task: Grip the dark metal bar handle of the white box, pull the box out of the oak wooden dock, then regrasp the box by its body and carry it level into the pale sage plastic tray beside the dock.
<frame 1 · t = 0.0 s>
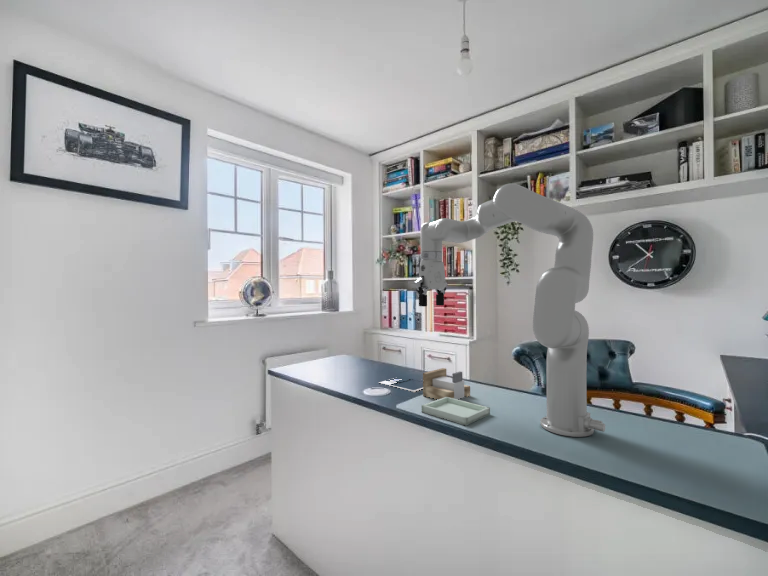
hand: (431, 305, 129), 31 cm above the table, fingers open, 9 cm apart
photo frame: (407, 385, 142), on the table
white box: (448, 397, 125), on the table
dock: (448, 396, 125), on the table
tray: (455, 413, 108), on the table
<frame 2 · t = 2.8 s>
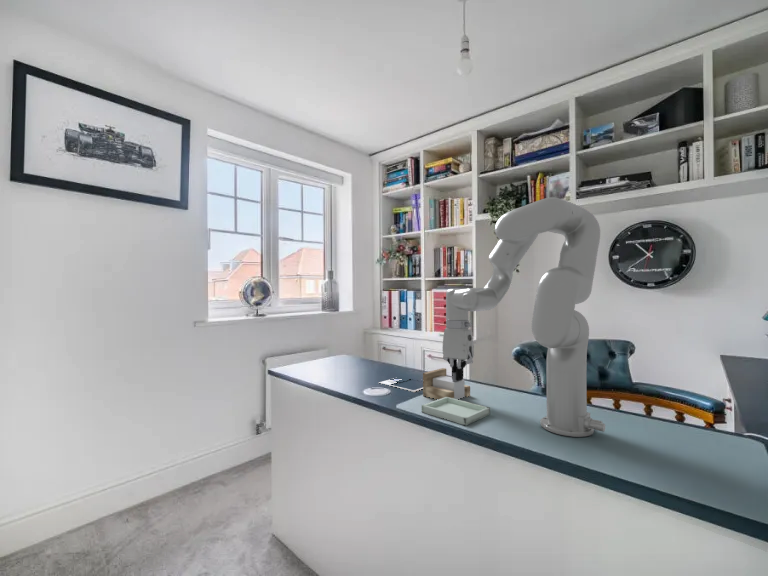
hand: (457, 379, 123), 7 cm above the table, fingers closed on white box
white box: (448, 396, 125), on the table, touching gripper
everything else where it was.
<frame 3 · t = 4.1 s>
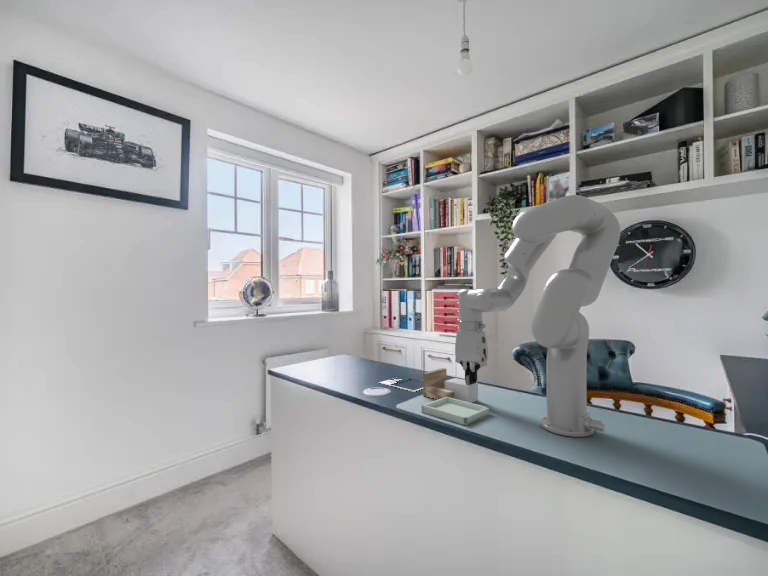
hand: (470, 382, 119), 6 cm above the table, fingers closed on white box
white box: (461, 399, 122), on the table, touching gripper
everything else where it was.
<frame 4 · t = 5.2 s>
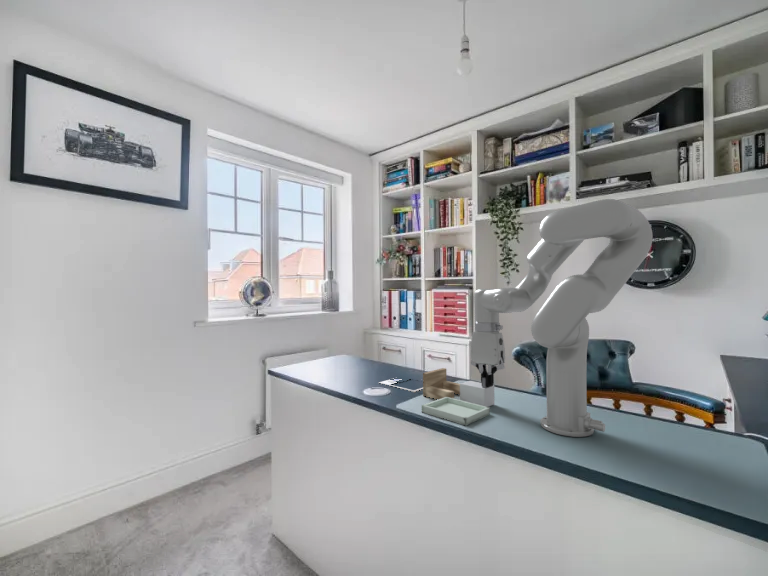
hand: (487, 385, 115), 6 cm above the table, fingers closed on white box
white box: (477, 403, 117), on the table, touching gripper
everything else where it was.
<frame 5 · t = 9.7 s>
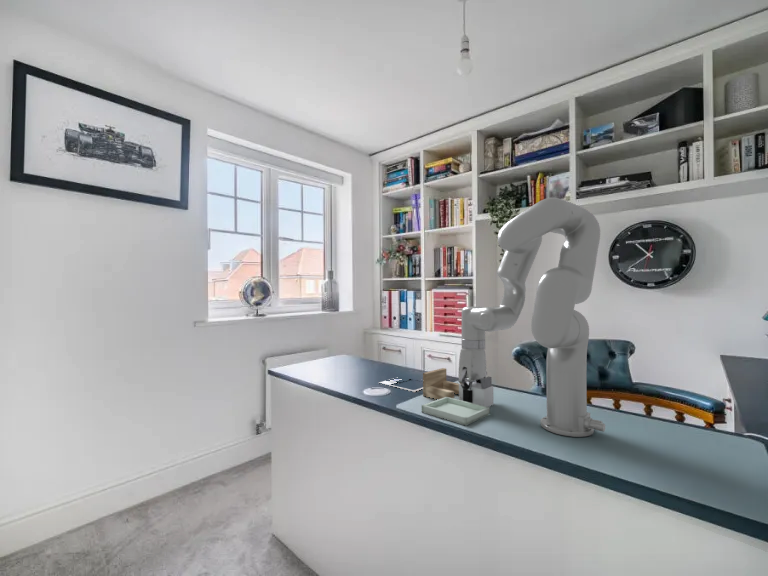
hand: (473, 399, 118), 1 cm above the table, fingers closed on white box, 6 cm apart
white box: (476, 403, 118), on the table, touching gripper
everything else where it was.
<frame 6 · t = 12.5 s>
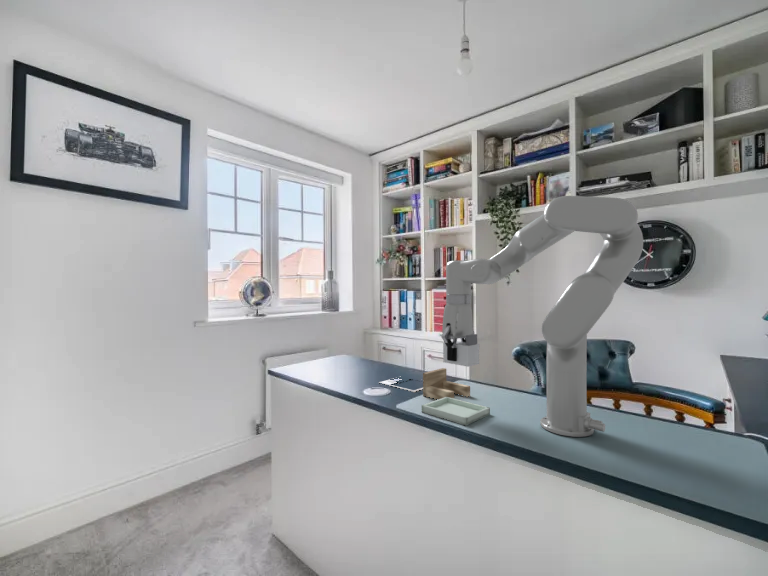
hand: (458, 358, 112), 16 cm above the table, fingers closed on white box, 6 cm apart
white box: (461, 363, 111), point 14 cm above the table, touching gripper
everything else where it was.
when the fingers open (3 cm above the table, at t = 15.6 s): white box drops 1 cm, resting on tray.
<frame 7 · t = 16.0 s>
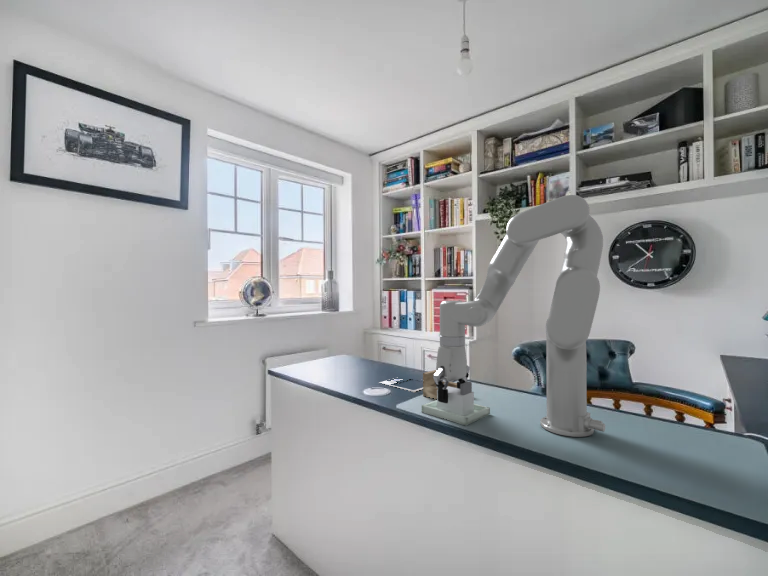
hand: (452, 398, 109), 4 cm above the table, fingers open, 9 cm apart
white box: (455, 411, 108), point 1 cm above the table, touching tray
everything else where it was.
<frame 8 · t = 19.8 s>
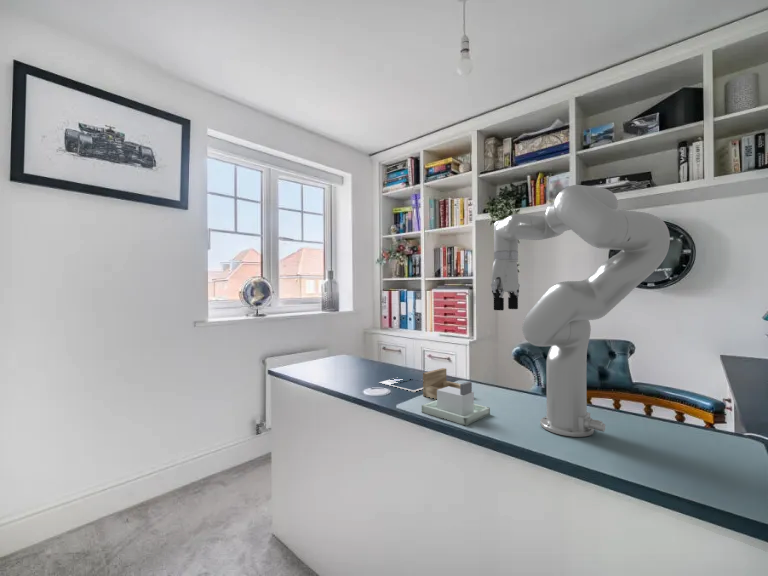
hand: (506, 309, 119), 30 cm above the table, fingers open, 9 cm apart
nothing on the table moved.
at the end: white box 0.1 cm off-centre on the tray, point 0.6 cm above the tray's base; white box tilted 0°; the gripper is holding nothing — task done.
